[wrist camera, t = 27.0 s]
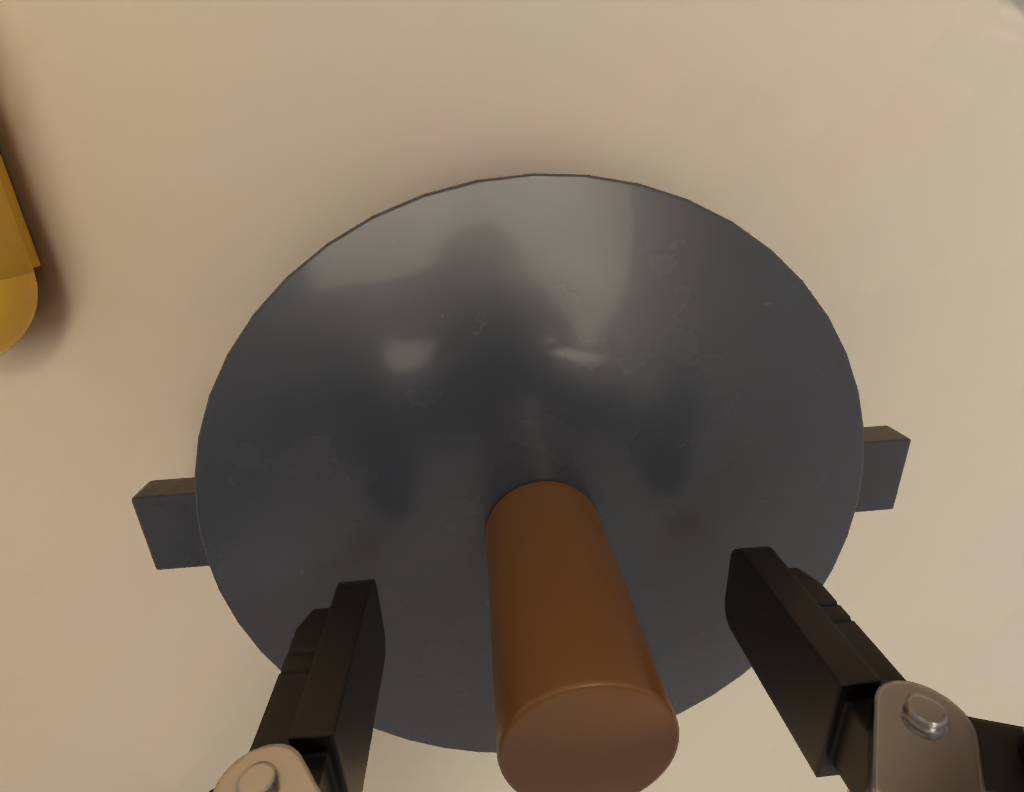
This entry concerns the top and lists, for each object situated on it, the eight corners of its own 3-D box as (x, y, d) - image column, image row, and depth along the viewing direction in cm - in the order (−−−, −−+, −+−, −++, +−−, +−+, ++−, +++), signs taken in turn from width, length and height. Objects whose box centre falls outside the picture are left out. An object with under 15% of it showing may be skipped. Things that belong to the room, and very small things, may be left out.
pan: (777, 583, 23) (863, 694, 18) (267, 629, 22) (207, 762, 17) (849, 177, 17) (1008, 176, 12) (149, 211, 16) (3, 226, 11)
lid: (789, 695, 19) (958, 967, 12) (286, 746, 18) (183, 1070, 12) (900, 156, 12) (1383, 129, 6) (122, 193, 12) (-333, 210, 5)
